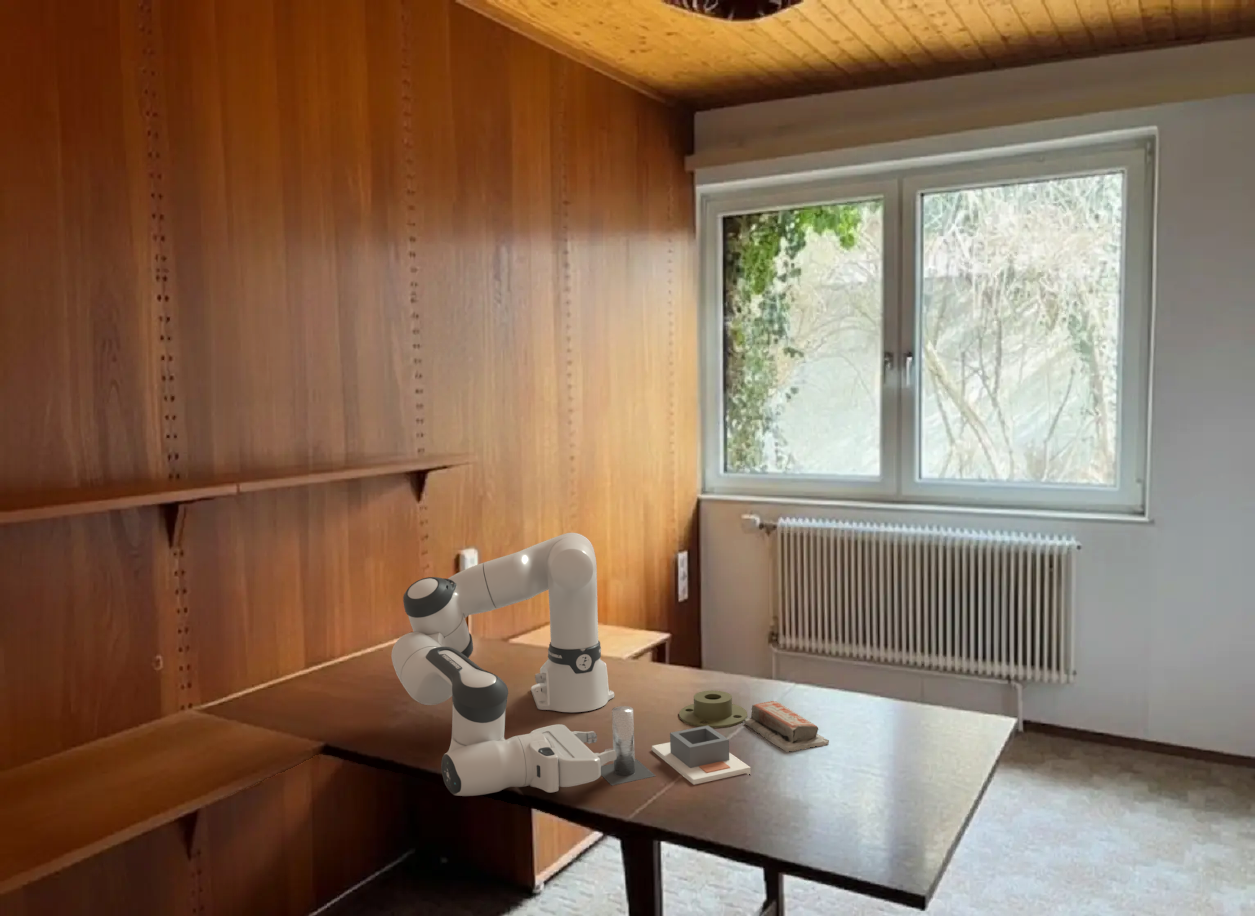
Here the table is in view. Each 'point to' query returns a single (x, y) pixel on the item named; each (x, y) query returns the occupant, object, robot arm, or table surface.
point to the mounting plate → (700, 755)
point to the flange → (713, 710)
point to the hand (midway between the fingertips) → (605, 744)
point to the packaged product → (784, 727)
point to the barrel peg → (623, 740)
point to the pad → (614, 779)
